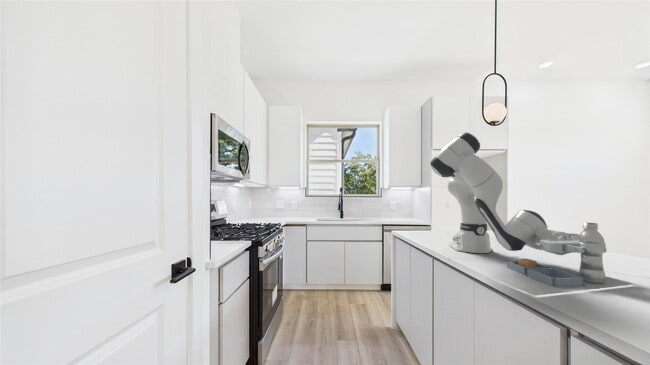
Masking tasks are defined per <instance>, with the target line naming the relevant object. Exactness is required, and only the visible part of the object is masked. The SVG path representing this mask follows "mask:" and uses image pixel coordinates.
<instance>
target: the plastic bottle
mask: <svg viewBox="0 0 650 365" xmlns="http://www.w3.org/2000/svg"><path fill="white" fill-rule="evenodd" d="M582 229H583V230H582V231H581V232H580V233H579V234H580V235H579V237H578V241H579V246H580V247H582V248H585V253H580V265H579V266H580V267H579V270H578V276H580V277H583V278H584V283H585V282H586V283H589V284H596V285H603V284H604V283H605V282H606V278H607V276H606V273H605V270H604V263H603V256H604V254H603V247H604V242H605V238H604V236H603V235H602V234H601V233H600V232H599V231H598V230H599V224H598V223H596V222H582Z"/></svg>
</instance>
